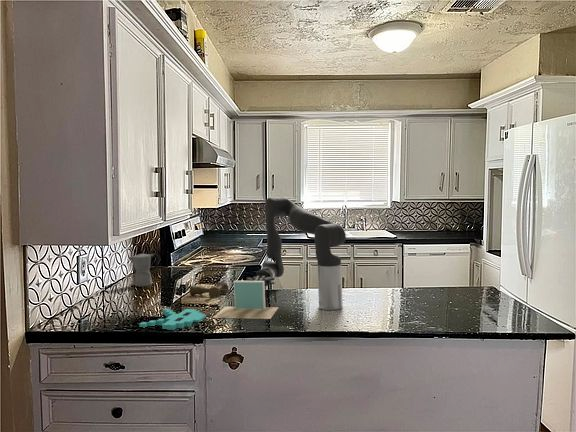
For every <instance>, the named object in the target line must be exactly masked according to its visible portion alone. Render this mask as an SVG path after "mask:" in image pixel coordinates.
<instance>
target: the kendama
mask: <svg viewBox="0 0 576 432" xmlns="http://www.w3.org/2000/svg"><path fill="white" fill-rule="evenodd" d="M228 292H232V290H231V289H229V285H228V284H227V282H225V281H219V282H217V284H216V286H211V287H210V288H209V287H205V286H204V287H203V285H199V286H198V285H194V284H191V286H190V287H189V294H190V296H192V297H193V296H195V295H199V296H202V295H203V294H207V293H208V296H209V297H210V298H211V299H214V298H217V297H218V298H219V297H220V296H221V295H226V294H227V293H228Z"/></svg>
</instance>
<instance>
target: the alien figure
mask: <svg viewBox="0 0 576 432" xmlns="http://www.w3.org/2000/svg"><path fill="white" fill-rule="evenodd" d="M162 315H164V316H165V318H158V319H157V320H155V319H154V320H153V319H152V320H149V321H148V322H147V321H142V322H140V323H139V324H138V325H139V327H143V328H145V327H147V326H155V325H157V326H162V327H161V328H162V329H167V330H168V331H175V330H176V329H184V328H185V327H192V326H194V325H201V323H200V322H201V321H203V320H204V319H205V318H206V317H207V314H204V313H203V312H200V310H197V309H196V308H195V309H194V308H185V309H184V310H182V311H181V312H179V313H177V312H176V311H174V310H173V309H171V308H164V309H162ZM139 327H138V328H139ZM155 327H156V326H155ZM167 330H166V331H167Z"/></svg>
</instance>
